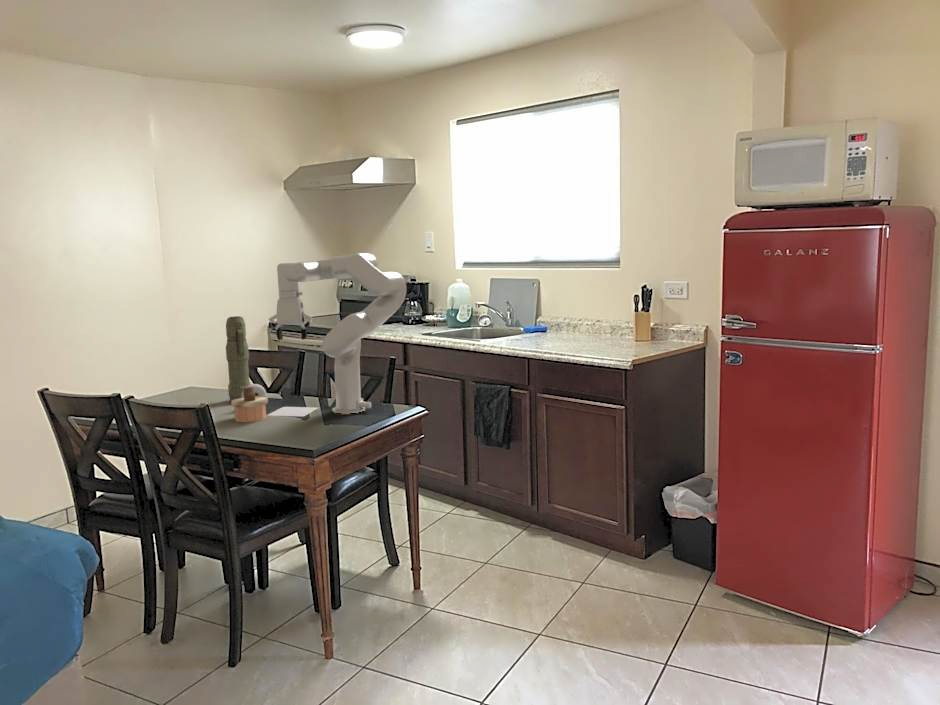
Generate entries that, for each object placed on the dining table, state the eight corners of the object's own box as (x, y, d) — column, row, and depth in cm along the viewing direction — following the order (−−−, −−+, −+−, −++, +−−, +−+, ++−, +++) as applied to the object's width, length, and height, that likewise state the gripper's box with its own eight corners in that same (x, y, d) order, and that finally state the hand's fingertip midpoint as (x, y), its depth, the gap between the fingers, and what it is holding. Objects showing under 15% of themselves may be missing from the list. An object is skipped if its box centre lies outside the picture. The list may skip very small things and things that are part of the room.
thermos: (236, 404, 299) (231, 318, 294) (224, 400, 308) (218, 316, 303) (257, 401, 305) (251, 316, 300) (244, 397, 314) (239, 315, 309)
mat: (319, 408, 290) (319, 407, 290) (303, 417, 275) (303, 416, 275) (283, 407, 293) (283, 406, 293) (266, 416, 278) (266, 415, 278)
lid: (274, 400, 278) (273, 385, 277) (258, 407, 265) (257, 392, 264) (242, 399, 280) (241, 384, 279) (224, 406, 268) (223, 391, 267)
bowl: (271, 416, 278) (270, 400, 277) (257, 423, 267) (256, 407, 266) (244, 415, 280) (243, 399, 279) (229, 422, 269) (228, 406, 268)
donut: (243, 411, 287) (242, 386, 286) (240, 409, 290) (239, 384, 289) (268, 407, 293) (267, 382, 291) (265, 406, 296) (264, 381, 294)
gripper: (314, 293, 287) (316, 337, 290) (271, 295, 290) (274, 338, 292) (307, 295, 280) (310, 340, 282) (263, 296, 282) (267, 341, 285)
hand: (292, 339), depth 287 cm, fingers open, 9 cm apart
